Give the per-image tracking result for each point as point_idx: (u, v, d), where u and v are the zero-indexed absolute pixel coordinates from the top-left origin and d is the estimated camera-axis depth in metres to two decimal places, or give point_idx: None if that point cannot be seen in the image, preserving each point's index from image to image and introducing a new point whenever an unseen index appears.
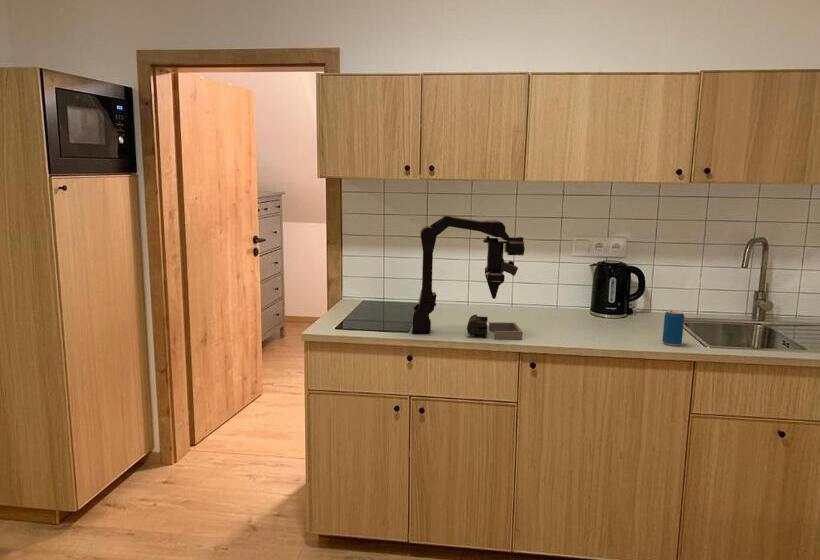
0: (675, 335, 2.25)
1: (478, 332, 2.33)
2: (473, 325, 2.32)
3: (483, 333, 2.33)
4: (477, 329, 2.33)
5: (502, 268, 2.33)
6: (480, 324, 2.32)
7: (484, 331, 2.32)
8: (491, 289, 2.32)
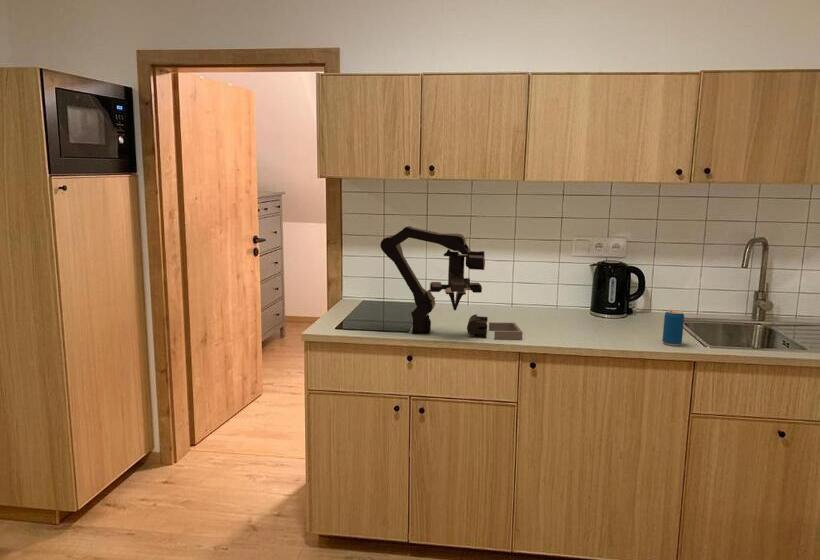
0: (675, 335, 2.25)
1: (478, 332, 2.33)
2: (473, 325, 2.32)
3: (483, 333, 2.33)
4: (477, 329, 2.33)
5: (448, 282, 2.31)
6: (480, 324, 2.32)
7: (484, 331, 2.32)
8: (451, 299, 2.36)
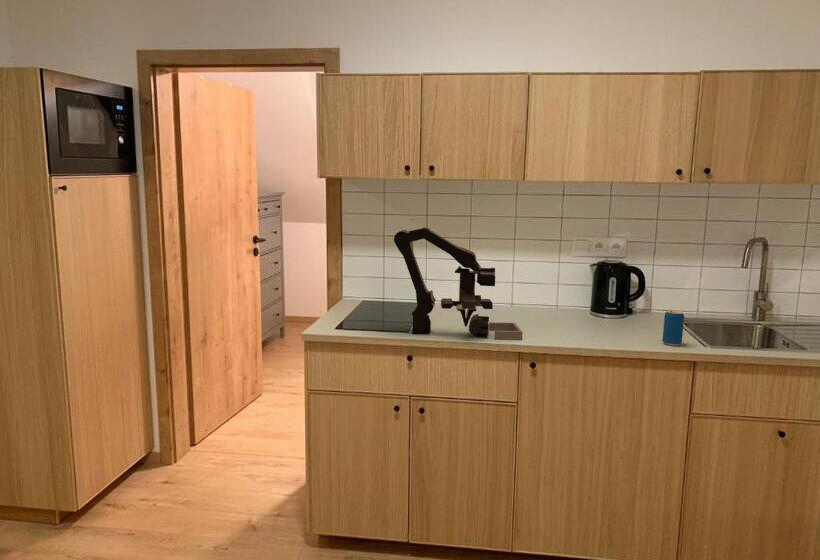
0: (675, 335, 2.25)
1: (480, 332, 2.33)
2: (475, 325, 2.32)
3: (485, 333, 2.33)
4: (479, 329, 2.33)
5: (459, 298, 2.32)
6: (482, 324, 2.32)
7: (486, 331, 2.32)
8: (462, 316, 2.37)
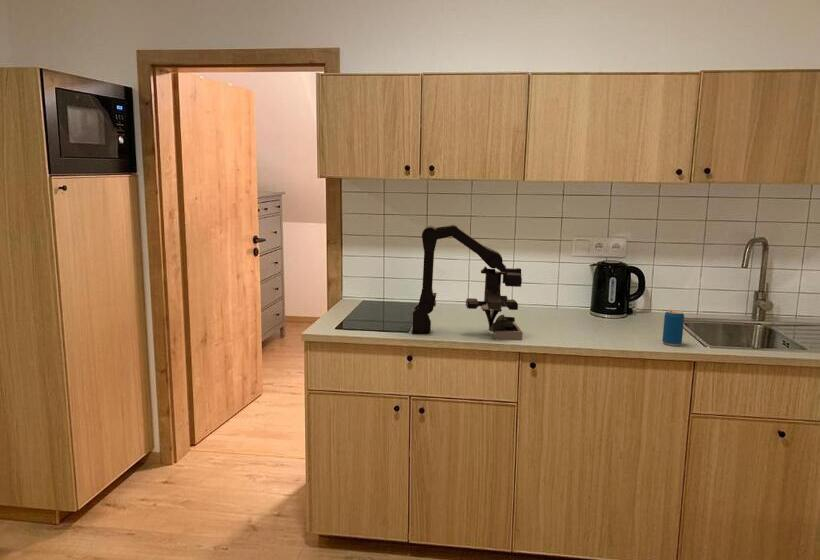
0: (675, 335, 2.25)
1: None
2: (499, 325, 2.32)
3: None
4: (503, 329, 2.33)
5: (485, 299, 2.33)
6: (506, 324, 2.32)
7: None
8: None
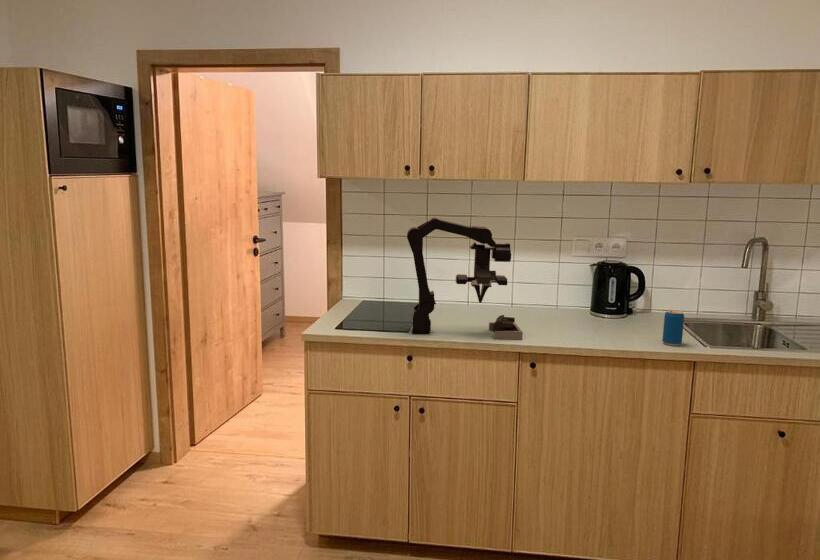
0: (675, 335, 2.25)
1: None
2: (499, 325, 2.32)
3: None
4: (503, 330, 2.33)
5: (474, 274, 2.33)
6: (506, 325, 2.32)
7: None
8: (476, 292, 2.39)
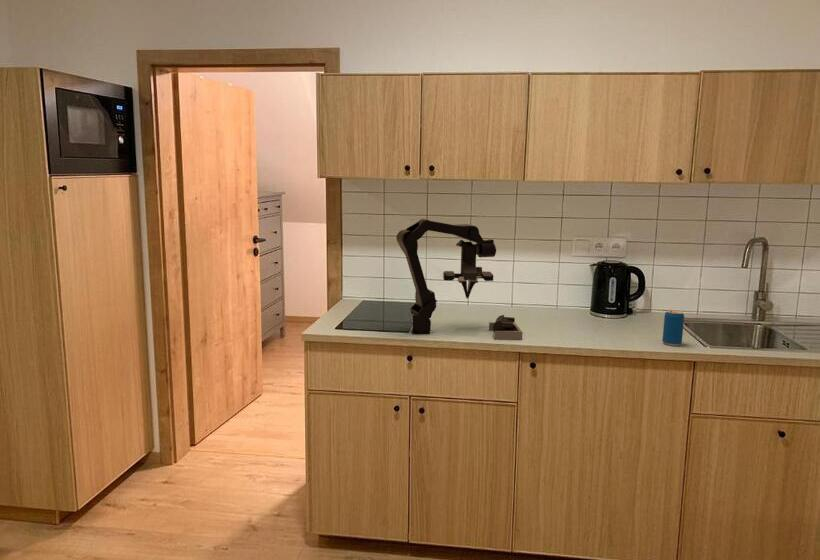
0: (675, 335, 2.25)
1: None
2: (499, 325, 2.32)
3: None
4: (503, 330, 2.33)
5: (461, 270, 2.40)
6: (506, 325, 2.32)
7: None
8: (463, 288, 2.45)
